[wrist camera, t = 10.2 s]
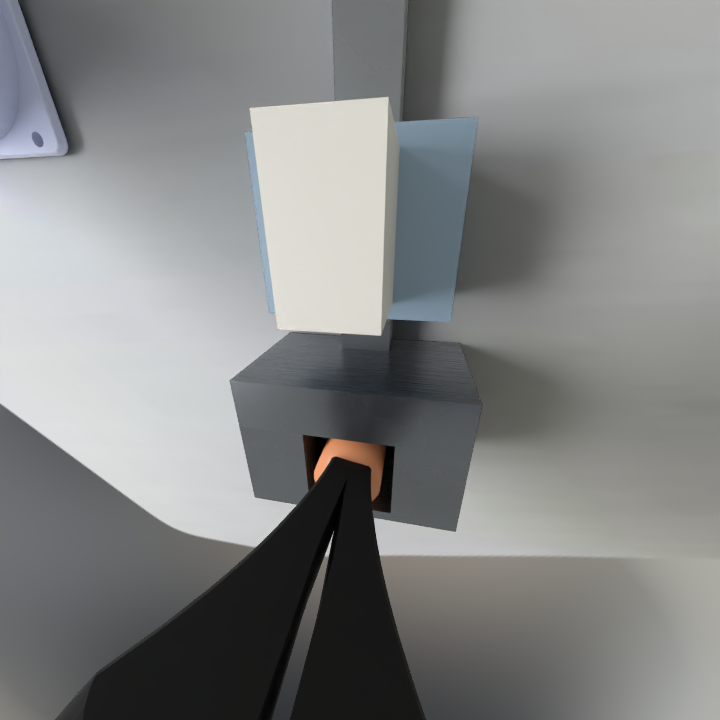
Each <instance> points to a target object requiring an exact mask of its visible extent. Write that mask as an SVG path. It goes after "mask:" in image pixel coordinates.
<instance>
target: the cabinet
mask: <svg viewBox="0 0 720 720" xmlns="http://www.w3.org/2000/svg"><path fill="white" fill-rule="evenodd" d="M230 385H231V389H232V394H233V399H234V403H235V408H236V412H237V417H238V422H239V426H240V431H241V435H242V440H243V445H244V449H245V454H246V459H247V463H248V468H249V472H250V477H251V482H252V486H253V491H254V495H255V497H256V498H262V499H268V500H273V501H279V502H285V503H291V504H298V503H299V502H300V501H301V500H302V498H303V497H304V496H305V495H306V494H307V492H308V491H309V490H310V489H311V488H312V486H313V485H314V484H315V480H314V470H315V468H316V465H317V463H318V461H319V458H320V456H321V454H322V452H323V449H324V447H325V445H326V442H327V440H328V438H332V439H340V440H348V441H355V442H363V443H371V444H379V445H387V446H386V453H385V460H384V466H383V473H382V480H381V486H380V491H379V494H378V496H377V497H376V498H375V499H374V500H373V501H372V509H373V518H378V519H384V520H390V521H396V522H402V523H407V524H413V525H419V526H425V527H431V528H437V529H442V530H448V531H454V532H456V528H457V523H458V518H459V513H460V509H461V504H462V499H463V494H464V490H465V485H466V480H467V475H468V471H469V466H470V461H471V456H472V452H473V447H474V442H475V437H476V433H477V428H478V423H479V418H480V414H481V409H482V403H481V400H480V398H479V395H478V392H477V389H476V387H475V384H474V381H473V378H472V375H471V373H470V370H469V367H468V364H467V362H466V359H465V356H464V353H463V351H462V348H461V345H460V343H448V342H433V341H417V340H401V339H392V341H391V346H390V350H389V351H378V350H364V349H350V348H342V336H338V335H322V334H307V333H291V332H290V333H289V334H288V335H286V336H285V337H284V338H283V339H281V340H280V341H279V342H277V343H276V344H275V345H274V346H272V347H271V348H270V349H269V350H267V351H266V352H265V353H264V354H262V355H261V356H260V357H259V358H257V359H256V360H255V361H254V362H252V363H251V364H250V365H249V366H247V367H246V368H245V369H244V370H242V371H241V372H240V373H238V374H237V375H236V376H235V377H233V378H232V379H231V380H230Z"/></svg>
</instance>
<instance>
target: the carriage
mask: <svg viewBox="0 0 720 720" xmlns="http://www.w3.org/2000/svg"><path fill="white" fill-rule="evenodd" d="M249 109H250V117H251V125H252V131H250V132H245V139H246V147H247V154H248V161H249V169H250V176H251V183H252V191H253V198H254V205H255V213H256V220H257V227H258V235H259V242H260V249H261V257H262V264H263V271H264V279H265V286H266V293H267V301H268V308H269V313H275V314H276V321H277V329H281V330H297V331H313V332H329V333H345V334H361V335H377V336H381V334H382V331H383V329H384V326H385V323H386V320H387V319H396V320H415V321H434V322H450V321H451V314H452V307H453V299H454V292H455V285H456V277H457V270H458V262H459V255H460V248H461V240H462V233H463V226H464V218H465V211H466V204H467V196H468V189H469V181H470V174H471V167H472V159H473V152H474V145H475V137H476V130H477V123H478V117H466V118H451V119H435V120H420V121H404V122H394V119H393V115H392V110H391V106H390V102H389V97H381V98H369V99H356V100H344V101H331V102H319V103H306V104H294V105H281V106H269V107H256V108H249Z"/></svg>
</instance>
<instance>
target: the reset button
mask: <svg viewBox="0 0 720 720" xmlns="http://www.w3.org/2000/svg"><path fill="white" fill-rule="evenodd" d="M386 446H387V445H379V444H371V443H363V442H355V441H348V440H340V439H332V438H328V440H327V442H326V445H325V447H324V449H323V452H322V454H321V456H320V458H319V461H318V463H317V465H316V468H315V470H314V480H315V482H316V481H317V480H318V478H319V477H320V476H321V474H322V473H323V471H324V470H325V468H326V467H327V465H328V464H329V462H330V460H331V458H333V457H335V456H336V457H339V458H343V459H346V460H349V461H353V462H356V463H360V464H363V465H367V466H369V467H370V468H371V497H372V501H373V500H374V499H375V498H376V497H377V496H378V494H379V491H380V486H381V480H382V473H383V466H384V460H385V453H386Z"/></svg>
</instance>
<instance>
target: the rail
mask: <svg viewBox="0 0 720 720" xmlns="http://www.w3.org/2000/svg"><path fill="white" fill-rule="evenodd" d="M408 4H409V0H332V15H333V50H334V84H335V101H344V100H356V99H369V98H381V97H389V102H390V106H391V110H392V115H393V119H394V122H403V107H404V86H405V66H406V45H407V25H408ZM392 331H393V319H387V320H386V323H385V326H384V329H383V331H382V334H381V336H377V335H361V334H345V333H342V348H350V349H364V350H378V351H389V350H390V346H391V341H392Z"/></svg>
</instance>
